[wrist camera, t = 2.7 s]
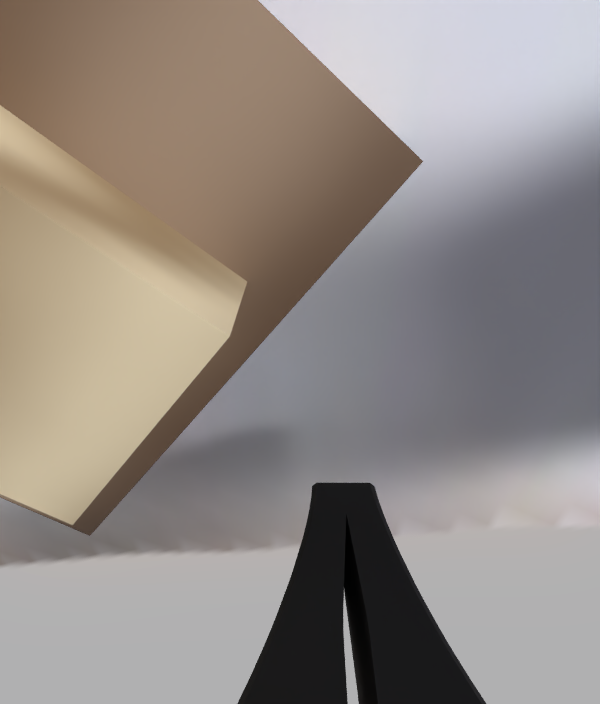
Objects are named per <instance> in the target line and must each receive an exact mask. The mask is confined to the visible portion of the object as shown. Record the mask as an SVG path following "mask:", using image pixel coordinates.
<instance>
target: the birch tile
mask: <svg viewBox="0 0 600 704" xmlns="http://www.w3.org/2000/svg"><path fill="white" fill-rule="evenodd" d="M246 284H247V281H246V280H244V279H243V278H242V277H240V276H239V275H237V274H236V273H235V272H233V271H232V270H230V269H229V268H228V267H226V266H225V265H223V264H222V263H221V262H219V261H218V260H216V259H215V258H214V257H212V256H211V255H209V254H208V253H207V252H205V251H204V250H202V249H201V248H200V247H198V246H197V245H195V244H194V243H193V242H191V241H190V240H188V239H187V238H186V237H184V236H183V235H181V234H180V233H179V232H177V231H176V230H174V229H173V228H172V227H170V226H169V225H167V224H166V223H165V222H163V221H162V220H160V219H159V218H158V217H156V216H155V215H153V214H152V213H151V212H149V211H148V210H146V209H145V208H144V207H142V206H141V205H139V204H138V203H137V202H135V201H134V200H132V199H131V198H130V197H128V196H127V195H125V194H124V193H123V192H121V191H120V190H118V189H117V188H116V187H114V186H113V185H111V184H110V183H109V182H107V181H106V180H104V179H103V178H102V177H100V176H99V175H97V174H96V173H95V172H93V171H92V170H90V169H89V168H88V167H86V166H85V165H83V164H82V163H81V162H79V161H78V160H76V159H75V158H74V157H72V156H71V155H69V154H68V153H67V152H65V151H64V150H62V149H61V148H60V147H58V146H57V145H55V144H54V143H53V142H51V141H50V140H48V139H47V138H46V137H44V136H43V135H41V134H40V133H39V132H37V131H36V130H34V129H33V128H32V127H30V126H29V125H27V124H26V123H25V122H23V121H22V120H20V119H19V118H18V117H16V116H15V115H13V114H12V113H11V112H9V111H8V110H6V109H5V108H4V107H2V106H1V105H0V494H1V495H3V496H6V497H8V498H10V499H13V500H15V501H17V502H20V503H22V504H24V505H27V506H29V507H31V508H34V509H36V510H38V511H41V512H43V513H45V514H48V515H50V516H52V517H55V518H57V519H59V520H62V521H64V522H66V523H69V524H71V525H73V524H74V523H75V522H76V520H77V519H78V518H79V517H80V516H81V514H82V513H83V512H84V511H85V510H86V508H87V507H88V506H89V505H90V504H91V502H92V501H93V500H94V499H95V498H96V496H97V495H98V494H99V493H100V492H101V490H102V489H103V488H104V487H105V486H106V484H107V483H108V482H109V481H110V480H111V478H112V477H113V476H114V475H115V474H116V472H117V471H118V470H119V469H120V468H121V466H122V465H123V464H124V463H125V462H126V460H127V459H128V458H129V457H130V456H131V454H132V453H133V452H134V451H135V450H136V448H137V447H138V446H139V445H140V444H141V442H142V441H143V440H144V439H145V438H146V436H147V435H148V434H149V433H150V432H151V430H152V429H153V428H154V427H155V426H156V424H157V423H158V422H159V421H160V420H161V418H162V417H163V416H164V415H165V414H166V412H167V411H168V410H169V409H170V408H171V406H172V405H173V404H174V403H175V402H176V400H177V399H178V398H179V397H180V396H181V394H182V393H183V392H184V391H185V390H186V388H187V387H188V386H189V385H190V384H191V382H192V381H193V380H194V379H195V378H196V376H197V375H198V374H199V373H200V372H201V370H202V369H203V368H204V367H205V366H206V364H207V363H208V362H209V361H210V360H211V358H212V357H213V356H214V355H215V354H216V352H217V351H218V350H219V349H220V348H221V346H222V345H223V344H224V343H225V342H226V340H227V339H228V338H229V337H230V334H231V331H232V328H233V325H234V322H235V319H236V316H237V312H238V309H239V306H240V303H241V300H242V297H243V294H244V290H245V287H246Z"/></svg>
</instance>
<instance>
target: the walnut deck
mask: <svg viewBox="0 0 600 704" xmlns="http://www.w3.org/2000/svg"><path fill="white" fill-rule="evenodd" d="M0 105H1V106H2V107H4V108H5V109H6V110H8V111H9V112H11V113H12V114H13V115H15V116H16V117H18V118H19V119H20V120H22V121H23V122H25V123H26V124H27V125H29V126H30V127H32V128H33V129H34V130H36V131H37V132H39V133H40V134H41V135H43V136H44V137H46V138H47V139H48V140H50V141H51V142H53V143H54V144H55V145H57V146H58V147H60V148H61V149H62V150H64V151H65V152H67V153H68V154H69V155H71V156H72V157H74V158H75V159H76V160H78V161H79V162H81V163H82V164H83V165H85V166H86V167H88V168H89V169H90V170H92V171H93V172H95V173H96V174H97V175H99V176H100V177H102V178H103V179H104V180H106V181H107V182H109V183H110V184H111V185H113V186H114V187H116V188H117V189H118V190H120V191H121V192H123V193H124V194H125V195H127V196H128V197H130V198H131V199H132V200H134V201H135V202H137V203H138V204H139V205H141V206H142V207H144V208H145V209H146V210H148V211H149V212H151V213H152V214H153V215H155V216H156V217H158V218H159V219H160V220H162V221H163V222H165V223H166V224H167V225H169V226H170V227H172V228H173V229H174V230H176V231H177V232H179V233H180V234H181V235H183V236H184V237H186V238H187V239H188V240H190V241H191V242H193V243H194V244H195V245H197V246H198V247H200V248H201V249H202V250H204V251H205V252H207V253H208V254H209V255H211V256H212V257H214V258H215V259H216V260H218V261H219V262H221V263H222V264H223V265H225V266H226V267H228V268H229V269H230V270H232V271H233V272H235V273H236V274H237V275H239V276H240V277H242V278H243V279H244V280H246V281H247V284H246V287H245V290H244V294H243V297H242V300H241V303H240V306H239V309H238V312H237V316H236V319H235V322H234V325H233V328H232V331H231V334H230V337H229V338H228V339H227V340H226V342H225V343H224V344H223V345H222V346H221V348H220V349H219V350H218V351H217V352H216V354H215V355H214V356H213V357H212V358H211V360H210V361H209V362H208V363H207V364H206V366H205V367H204V368H203V369H202V370H201V372H200V373H199V374H198V375H197V376H196V378H195V379H194V380H193V381H192V382H191V384H190V385H189V386H188V387H187V388H186V390H185V391H184V392H183V393H182V394H181V396H180V397H179V398H178V399H177V400H176V402H175V403H174V404H173V405H172V406H171V408H170V409H169V410H168V411H167V412H166V414H165V415H164V416H163V417H162V418H161V420H160V421H159V422H158V423H157V424H156V426H155V427H154V428H153V429H152V430H151V432H150V433H149V434H148V435H147V436H146V438H145V439H144V440H143V441H142V442H141V444H140V445H139V446H138V447H137V448H136V450H135V451H134V452H133V453H132V454H131V456H130V457H129V458H128V459H127V460H126V462H125V463H124V464H123V465H122V466H121V468H120V469H119V470H118V471H117V472H116V474H115V475H114V476H113V477H112V478H111V480H110V481H109V482H108V483H107V484H106V486H105V487H104V488H103V489H102V490H101V492H100V493H99V494H98V495H97V496H96V498H95V499H94V500H93V501H92V502H91V504H90V505H89V506H88V507H87V508H86V510H85V511H84V512H83V513H82V514H81V516H80V517H79V518H78V519H77V520H76V522H75V523H74V524H73V525H71V524H69V523H66V522H64V521H62V520H59V519H57V518H55V517H52V516H50V515H48V514H45V513H43V512H41V511H38V510H36V509H34V508H31V507H29V506H27V505H24V504H22V503H20V502H17V501H15V500H13V499H10V498H8V497H6V496H3V495H1V494H0V497H1V498H3V499H5V500H8V501H10V502H12V503H15V504H17V505H19V506H22V507H24V508H26V509H29V510H31V511H33V512H36V513H38V514H40V515H43V516H45V517H47V518H50V519H52V520H54V521H57V522H59V523H61V524H64V525H66V526H68V527H71V528H73V529H75V530H78V531H80V532H82V533H85V534H87V535H89V536H90V535H91V534H92V533H93V532H94V531H95V529H96V528H97V527H98V526H99V525H100V524H101V523H102V522H103V520H104V519H105V518H106V517H107V516H108V515H109V514H110V513H111V511H112V510H113V509H114V508H115V507H116V506H117V505H118V504H119V502H120V501H121V500H122V499H123V498H124V497H125V496H126V495H127V493H128V492H129V491H130V490H131V489H132V488H133V487H134V486H135V485H136V483H137V482H138V481H139V480H140V479H141V478H142V477H143V476H144V474H145V473H146V472H147V471H148V470H149V469H150V468H151V467H152V465H153V464H154V463H155V462H156V461H157V460H158V459H159V458H160V456H161V455H162V454H163V453H164V452H165V451H166V450H167V449H168V447H169V446H170V445H171V444H172V443H173V442H174V441H175V440H176V438H177V437H178V436H179V435H180V434H181V433H182V432H183V431H184V429H185V428H186V427H187V426H188V425H189V424H190V423H191V422H192V420H193V419H194V418H195V417H196V416H197V415H198V414H199V413H200V411H201V410H202V409H203V408H204V407H205V406H206V405H207V404H208V402H209V401H210V400H211V399H212V398H213V397H214V396H215V395H216V393H217V392H218V391H219V390H220V389H221V388H222V387H223V386H224V384H225V383H226V382H227V381H228V380H229V379H230V378H231V377H232V375H233V374H234V373H235V372H236V371H237V370H238V369H239V368H240V367H241V365H242V364H243V363H244V362H245V361H246V360H247V359H248V358H249V356H250V355H251V354H252V353H253V352H254V351H255V350H256V349H257V347H258V346H259V345H260V344H261V343H262V342H263V341H264V340H265V338H266V337H267V336H268V335H269V334H270V333H271V332H272V331H273V329H274V328H275V327H276V326H277V325H278V324H279V323H280V322H281V320H282V319H283V318H284V317H285V316H286V315H287V314H288V313H289V311H290V310H291V309H292V308H293V307H294V306H295V305H296V304H297V302H298V301H299V300H300V299H301V298H302V297H303V296H304V295H305V293H306V292H307V291H308V290H309V289H310V288H311V287H312V286H313V284H314V283H315V282H316V281H317V280H318V279H319V278H320V277H321V275H322V274H323V273H324V272H325V271H326V270H327V269H328V268H329V266H330V265H331V264H332V263H333V262H334V261H335V260H336V259H337V257H338V256H339V255H340V254H341V253H342V252H343V251H344V250H345V248H346V247H347V246H348V245H349V244H350V243H351V242H352V241H353V240H354V238H355V237H356V236H357V235H358V234H359V233H360V232H361V231H362V229H363V228H364V227H365V226H366V225H367V224H368V223H369V222H370V220H371V219H372V218H373V217H374V216H375V215H376V214H377V213H378V211H379V210H380V209H381V208H382V207H383V206H384V205H385V204H386V202H387V201H388V200H389V199H390V198H391V197H392V196H393V195H394V193H395V192H396V191H397V190H398V189H399V188H400V187H401V186H402V184H403V183H404V182H405V181H406V180H407V179H408V178H409V177H410V175H411V174H412V173H413V172H414V171H415V170H416V169H417V168H418V166H419V165H420V164H421V163H422V162H423V161H422V160H421V159H420V158H419V157H418V156H417V155H416V154H415V153H414V152H413V151H412V150H411V149H410V148H409V147H408V146H407V145H406V144H405V143H404V142H403V141H402V140H401V139H400V138H399V137H398V136H396V135H395V134H394V133H393V132H392V131H391V130H390V129H389V128H388V127H387V126H386V125H385V124H384V123H383V122H382V121H381V120H380V119H379V118H378V117H377V116H376V115H375V114H374V113H373V112H372V111H371V110H370V109H369V108H368V107H367V106H366V105H365V104H364V103H363V102H362V101H361V100H360V99H358V98H357V97H356V96H355V95H354V94H353V93H352V92H351V91H350V90H349V89H348V88H347V87H346V86H345V85H344V84H343V83H342V82H341V81H340V80H339V79H338V78H337V77H336V76H335V75H334V74H333V73H332V72H331V71H330V70H329V69H328V68H327V67H326V66H325V65H324V64H323V63H322V62H321V61H319V60H318V59H317V58H316V57H315V56H314V55H313V54H312V53H311V52H310V51H309V50H308V49H307V48H306V47H305V46H304V45H303V44H302V43H301V42H300V41H299V40H298V39H297V38H296V37H295V36H294V35H293V34H292V33H291V32H290V31H289V30H288V29H287V28H286V27H285V26H284V25H283V24H281V23H280V22H279V21H278V20H277V19H276V18H275V17H274V16H273V15H272V14H271V13H270V12H269V11H268V10H267V9H266V8H265V7H264V6H263V5H262V4H261V3H260V2H259V1H258V0H0Z"/></svg>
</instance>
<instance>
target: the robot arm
mask: <svg viewBox="0 0 600 704" xmlns="http://www.w3.org/2000/svg"><path fill="white" fill-rule="evenodd" d="M344 591H345V599H346V607H347V614H348V622H349V630H350V637H351V644H352V653H353V660H354V668H355V676H356V683H357V690H358V701H359V704H486V703H485V701H484V700H483V698H482V697H481V695H480V693H479V692H478V690H477V689H476V687H475V686H474V684H473V683H472V681H471V680H470V678H469V676H468V675H467V673H466V672H465V670H464V669H463V667H462V665H461V664H460V662H459V660H458V659H457V657H456V656H455V654H454V652H453V651H452V649H451V647H450V646H449V644H448V642H447V641H446V639H445V637H444V635H443V634H442V632H441V630H440V629H439V627H438V625H437V623H436V622H435V620H434V618H433V616H432V614H431V612H430V611H429V609H428V607H427V605H426V603H425V602H424V600H423V598H422V596H421V594H420V592H419V591H418V588H417V586H416V585H415V583H414V581H413V578H412V576H411V575H410V573H409V570H408V568H407V566H406V564H405V562H404V560H403V558H402V556H401V554H400V552H399V550H398V547H397V545H396V543H395V541H394V539H393V536H392V534H391V531H390V529H389V527H388V524H387V522H386V519H385V517H384V514H383V512H382V509H381V506H380V503H379V500H378V497H377V494H376V491H375V487H374V486H373V485H372V484H371V483H316V484H315V485H313V486H312V497H311V503H310V510H309V515H308V519H307V524H306V528H305V532H304V536H303V539H302V543H301V546H300V549H299V553H298V556H297V559H296V562H295V566H294V569H293V572H292V575H291V578H290V581H289V584H288V586H287V589H286V592H285V594H284V597H283V600H282V602H281V605H280V608H279V611H278V613H277V616H276V618H275V621H274V624H273V626H272V628H271V631H270V633H269V636H268V638H267V640H266V643H265V645H264V647H263V650H262V652H261V654H260V656H259V659H258V661H257V663H256V665H255V668H254V670H253V672H252V674H251V677H250V679H249V681H248V683H247V685H246V687H245V689H244V691H243V693H242V695H241V697H240V699H239V702H238V704H347V688H346V672H345V656H344V655H345V654H344V638H343V598H344Z"/></svg>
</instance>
